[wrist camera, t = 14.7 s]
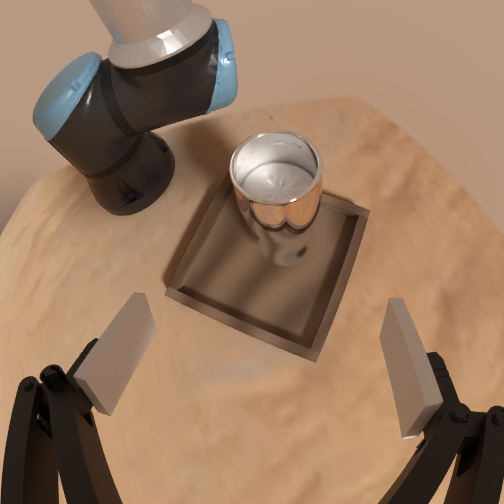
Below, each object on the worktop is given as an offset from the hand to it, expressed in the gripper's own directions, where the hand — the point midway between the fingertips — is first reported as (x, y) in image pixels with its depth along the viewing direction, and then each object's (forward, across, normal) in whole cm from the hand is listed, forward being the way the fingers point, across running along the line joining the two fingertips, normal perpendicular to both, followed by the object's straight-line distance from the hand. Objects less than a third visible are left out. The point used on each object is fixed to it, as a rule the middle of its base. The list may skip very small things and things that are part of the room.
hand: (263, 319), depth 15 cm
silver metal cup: (+19, 0, -4) cm, 20 cm away
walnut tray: (+21, -2, -8) cm, 23 cm away
